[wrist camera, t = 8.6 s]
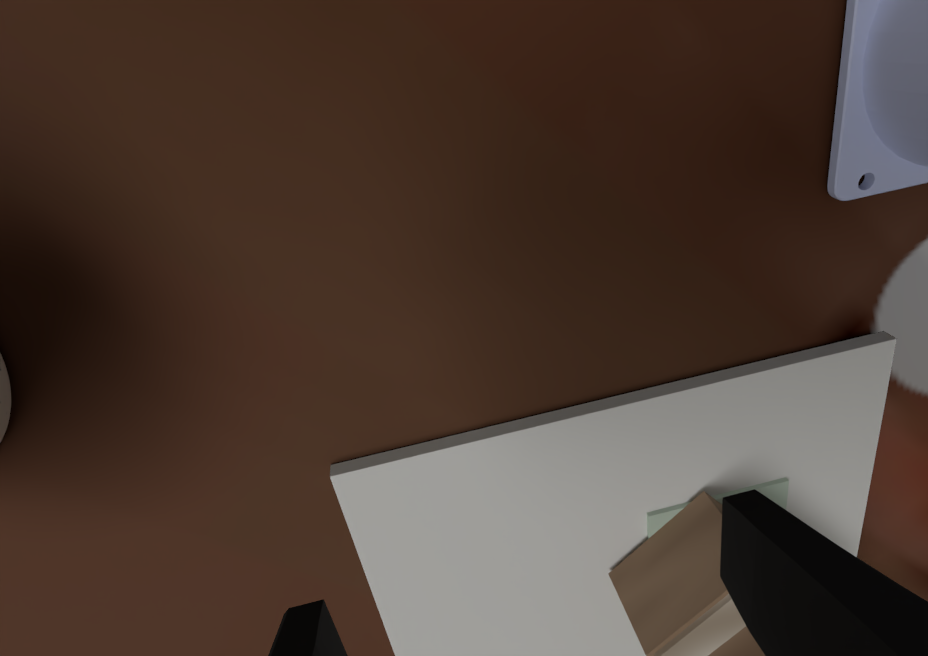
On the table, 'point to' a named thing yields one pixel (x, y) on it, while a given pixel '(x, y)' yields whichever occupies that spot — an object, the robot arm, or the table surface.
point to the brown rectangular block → (683, 589)
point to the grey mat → (602, 498)
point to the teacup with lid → (4, 398)
